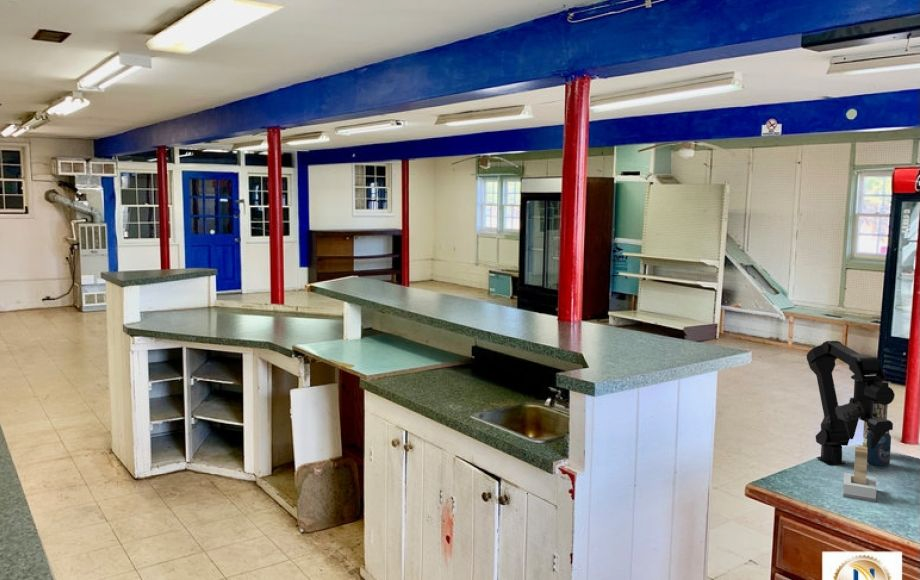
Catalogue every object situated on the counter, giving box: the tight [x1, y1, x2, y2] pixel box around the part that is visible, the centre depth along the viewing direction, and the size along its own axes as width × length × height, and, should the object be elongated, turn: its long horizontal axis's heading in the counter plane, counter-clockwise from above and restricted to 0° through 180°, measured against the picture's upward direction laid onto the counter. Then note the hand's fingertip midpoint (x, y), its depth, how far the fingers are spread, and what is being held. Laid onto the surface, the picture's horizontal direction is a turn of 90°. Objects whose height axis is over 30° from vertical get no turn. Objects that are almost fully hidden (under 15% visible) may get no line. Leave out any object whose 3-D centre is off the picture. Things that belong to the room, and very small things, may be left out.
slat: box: [853, 445, 868, 485], centre depth 213 cm, size 4×3×13 cm
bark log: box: [862, 403, 889, 448], centre depth 244 cm, size 7×7×25 cm
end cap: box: [842, 472, 877, 503], centre depth 213 cm, size 10×8×4 cm
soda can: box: [867, 430, 892, 469], centre depth 235 cm, size 7×7×12 cm
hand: (861, 443), depth 222 cm, fingers open, 9 cm apart
